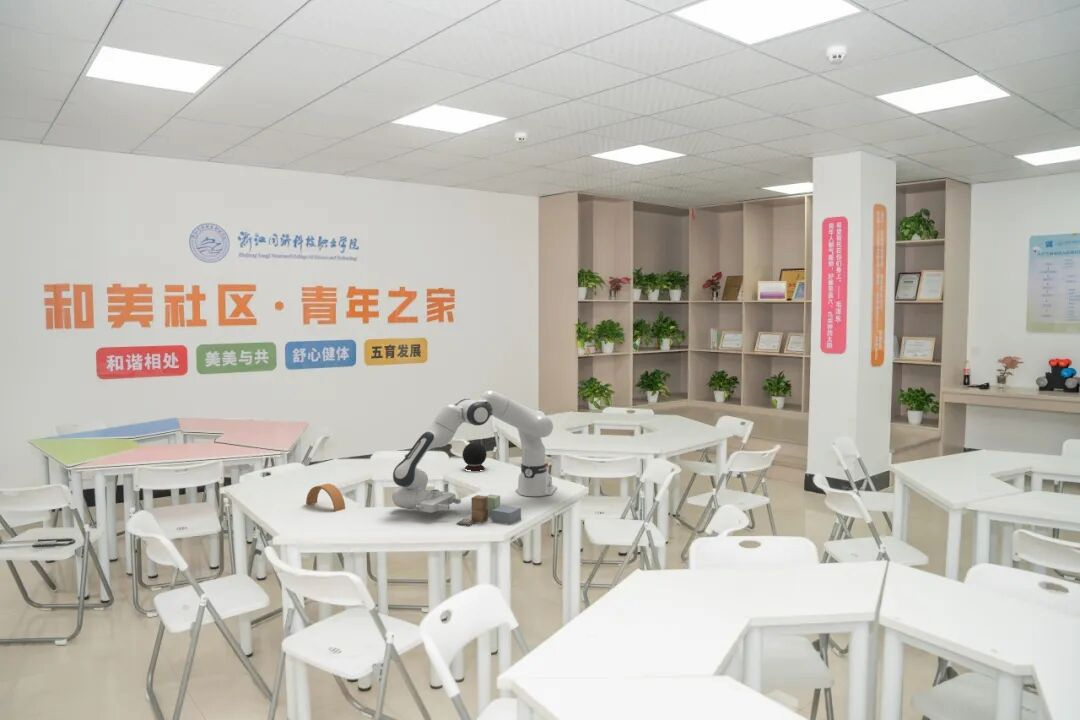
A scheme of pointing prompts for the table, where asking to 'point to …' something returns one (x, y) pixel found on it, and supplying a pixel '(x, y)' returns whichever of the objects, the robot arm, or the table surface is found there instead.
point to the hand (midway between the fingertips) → (454, 504)
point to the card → (466, 522)
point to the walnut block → (480, 508)
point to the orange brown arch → (333, 493)
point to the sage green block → (493, 503)
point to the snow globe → (474, 456)
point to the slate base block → (506, 514)
